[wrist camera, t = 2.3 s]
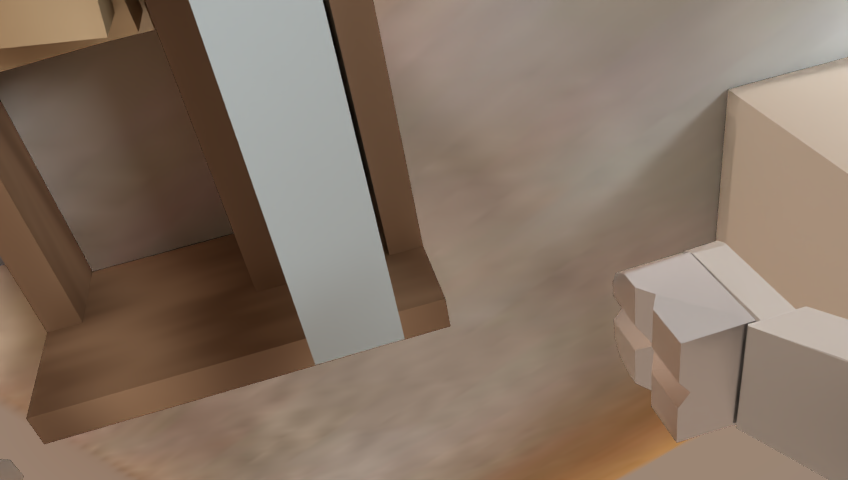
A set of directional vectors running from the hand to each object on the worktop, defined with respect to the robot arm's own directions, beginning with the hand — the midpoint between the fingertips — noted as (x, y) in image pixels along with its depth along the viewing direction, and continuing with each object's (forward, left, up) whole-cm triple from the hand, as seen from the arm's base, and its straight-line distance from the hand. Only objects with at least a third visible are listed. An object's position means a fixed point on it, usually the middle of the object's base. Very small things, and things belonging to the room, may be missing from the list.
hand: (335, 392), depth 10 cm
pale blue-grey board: (0, 0, -18) cm, 18 cm away
